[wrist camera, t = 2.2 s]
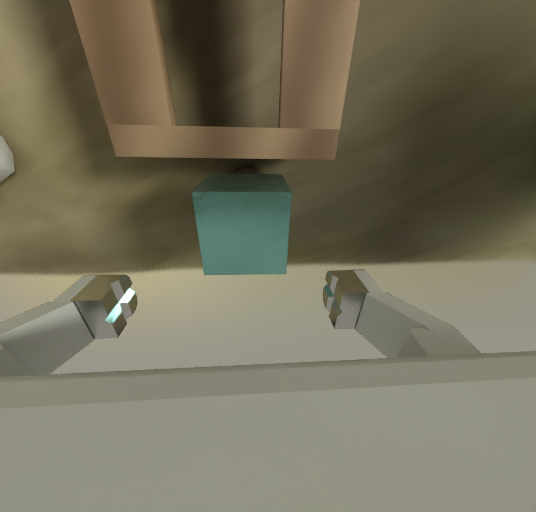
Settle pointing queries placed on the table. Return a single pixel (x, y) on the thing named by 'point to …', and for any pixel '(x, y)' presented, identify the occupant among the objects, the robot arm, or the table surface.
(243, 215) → the teal stemmed block
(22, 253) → the table surface
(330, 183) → the table surface
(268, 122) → the table surface
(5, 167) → the bottle
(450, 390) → the robot arm
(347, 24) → the tan hollow wooden block
